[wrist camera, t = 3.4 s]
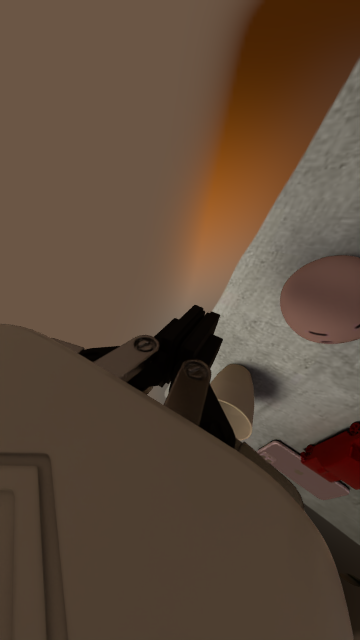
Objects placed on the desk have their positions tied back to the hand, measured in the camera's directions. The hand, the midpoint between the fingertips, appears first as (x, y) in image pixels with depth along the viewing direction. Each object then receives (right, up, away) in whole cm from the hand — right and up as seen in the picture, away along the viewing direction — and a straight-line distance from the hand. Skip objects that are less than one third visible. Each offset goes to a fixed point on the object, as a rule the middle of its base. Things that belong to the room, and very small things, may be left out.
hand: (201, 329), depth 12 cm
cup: (+9, -10, +24) cm, 27 cm away
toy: (+16, +5, +11) cm, 21 cm away
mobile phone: (+23, -30, +27) cm, 46 cm away
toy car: (+26, -20, +20) cm, 38 cm away
